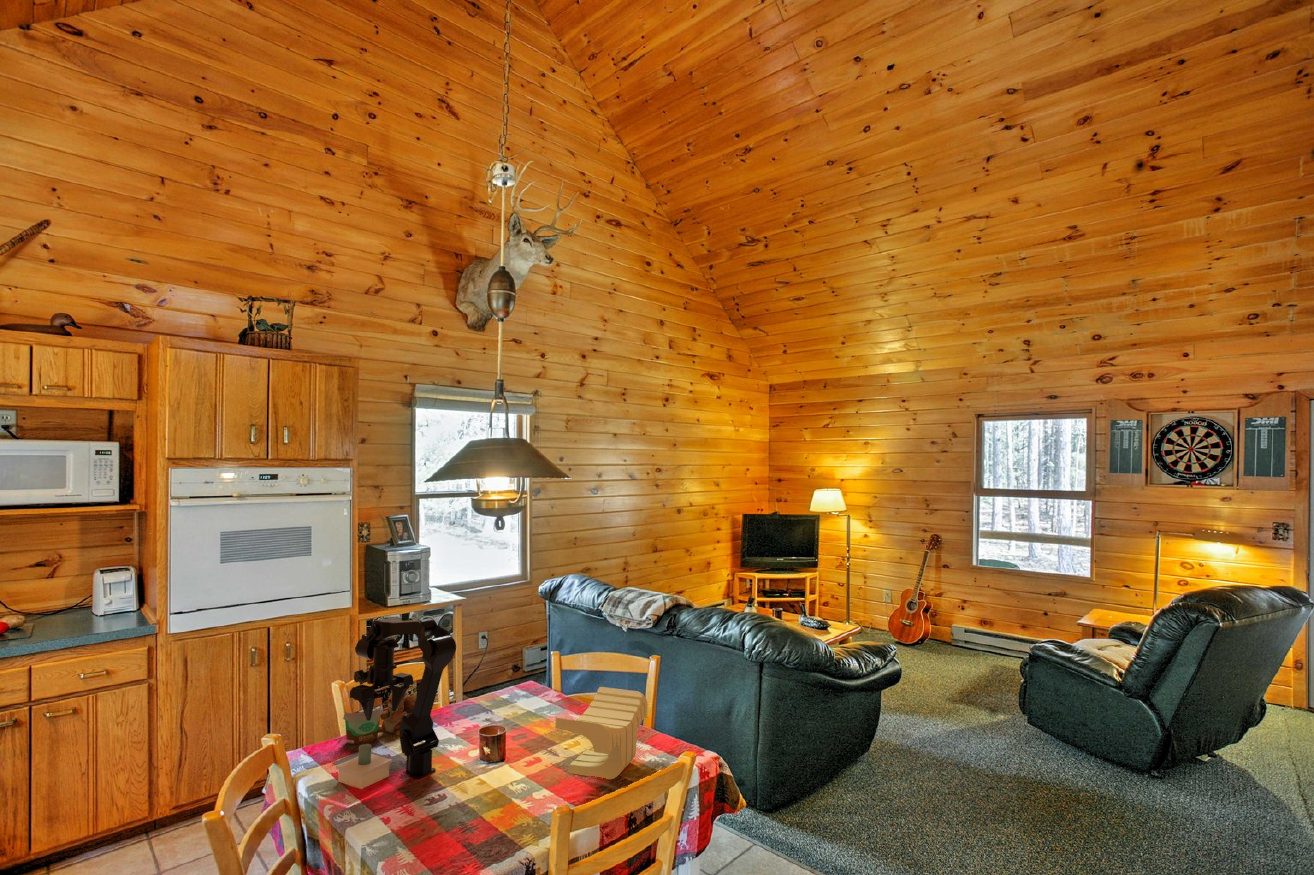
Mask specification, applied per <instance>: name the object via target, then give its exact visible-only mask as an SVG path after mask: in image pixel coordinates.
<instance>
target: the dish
mask: <svg viewBox="0 0 1314 875" xmlns="http://www.w3.org/2000/svg"><path fill="white" fill-rule="evenodd" d="M388 777H390V764H389V765H386V766H384V767H382V768H380V769H377V770H375V771H373V772H371V773H369V774H366V775H364V776H362V777H361V776H358V775H355V774H352V773H348V772H345V771H342V770H339V769H338V781H337V782H338V783H342V784H345V785H347V786H350V787H353V788H356V789H359V790H363V789H365V788H367V787H369V786H371V785H373V784H375V783H378V782H379V781H382V780H384V779H386V778H388Z"/></svg>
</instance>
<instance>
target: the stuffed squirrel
mask: <svg viewBox="0 0 1314 875" xmlns="http://www.w3.org/2000/svg"><path fill="white" fill-rule="evenodd" d="M416 698H417V696H415V695H409V692H408V691H406V693H405V694H404V696H403V698H402V700H401V702H400V704H399V706H398V708H397V709H396V711H392V691H391V690H390V694H389V696H388V698H387V700H385V701H384V702H383V704H382V706H383V705H384V708H385V707H386V705H387V706H388V708H387V709H385V710H383V713H382V714H381V715H380V720H382V723H381V726H379V731H378V733H384V732H387V733H393V734H394V735H396V736H399V735H400V730H401V729H399V727H400V726H401V723H402V718H403V716H404V715H406V714H410V713H412V711H413V708H414V705H415V701H416Z"/></svg>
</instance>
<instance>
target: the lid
mask: <svg viewBox="0 0 1314 875" xmlns="http://www.w3.org/2000/svg"><path fill="white" fill-rule="evenodd" d="M358 752H359V754H358V757H356V758H353V759H351V760H348V761H346V762H344V763H341V764H339V765H336V764H335V769H336V770H338V771H339V770H342V771H345V772H348V773H352V774H355V775H358V776H361V777H362V776H364V775H366V774H369V773H371V772H373V771H375V770H377V769H380V768H382V767H384V766H386V765H389V766H390V764H393V759H391V758H384V757H381V756H377V755H374V754H371V752H372V744H371V743H362V744H359V746H358Z"/></svg>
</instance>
